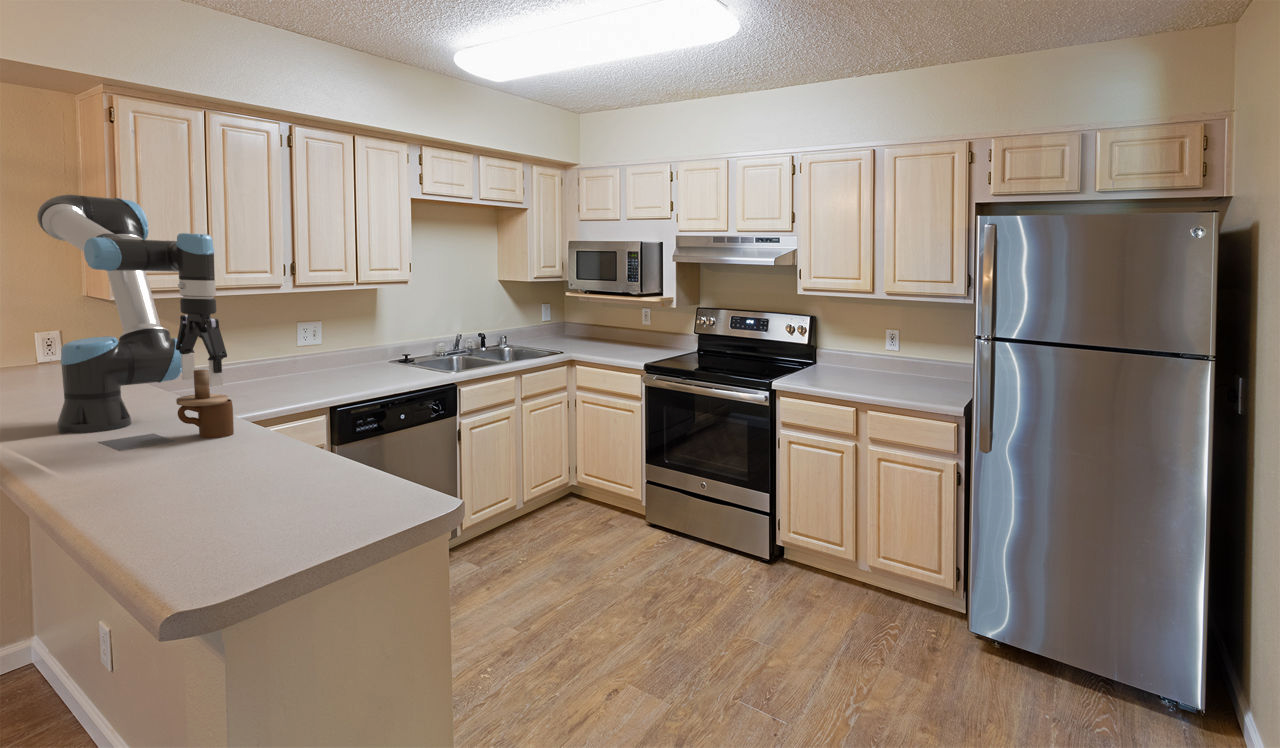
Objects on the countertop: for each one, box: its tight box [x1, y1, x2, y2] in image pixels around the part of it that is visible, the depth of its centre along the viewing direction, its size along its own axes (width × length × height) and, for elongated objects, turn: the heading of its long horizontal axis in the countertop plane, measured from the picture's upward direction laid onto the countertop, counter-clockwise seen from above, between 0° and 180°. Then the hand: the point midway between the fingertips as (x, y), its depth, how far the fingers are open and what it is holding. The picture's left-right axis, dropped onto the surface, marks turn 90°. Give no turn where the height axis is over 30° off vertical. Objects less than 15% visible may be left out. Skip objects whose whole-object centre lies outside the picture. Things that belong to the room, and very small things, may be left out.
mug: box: [177, 398, 235, 439], centre depth 178 cm, size 12×8×9 cm, turn 131°
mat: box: [97, 433, 177, 452], centre depth 171 cm, size 12×12×1 cm
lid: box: [175, 369, 229, 407], centre depth 177 cm, size 11×11×8 cm
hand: (202, 382), depth 177 cm, fingers open, 13 cm apart
